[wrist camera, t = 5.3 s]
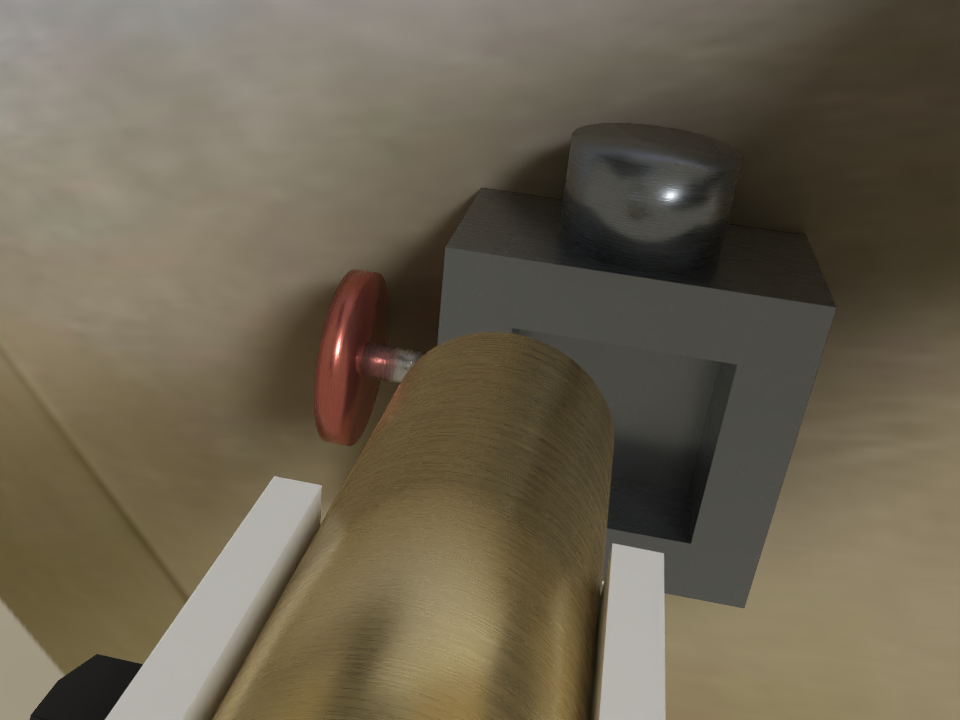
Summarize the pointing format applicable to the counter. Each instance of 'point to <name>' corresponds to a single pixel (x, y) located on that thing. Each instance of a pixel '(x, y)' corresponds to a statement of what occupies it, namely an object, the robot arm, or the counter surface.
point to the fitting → (452, 553)
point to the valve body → (631, 337)
